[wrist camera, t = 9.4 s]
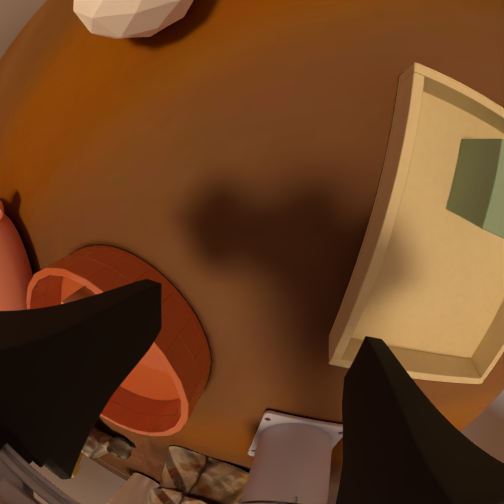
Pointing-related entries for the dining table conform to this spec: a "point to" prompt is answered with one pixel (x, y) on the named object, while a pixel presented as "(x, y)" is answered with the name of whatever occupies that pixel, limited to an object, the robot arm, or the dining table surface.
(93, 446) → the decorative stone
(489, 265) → the beige rectangular tray
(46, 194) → the dining table surface
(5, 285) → the teapot
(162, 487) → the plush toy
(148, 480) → the cup
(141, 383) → the bowl
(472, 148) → the block
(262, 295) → the dining table surface
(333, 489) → the dining table surface
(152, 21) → the geometric ball
